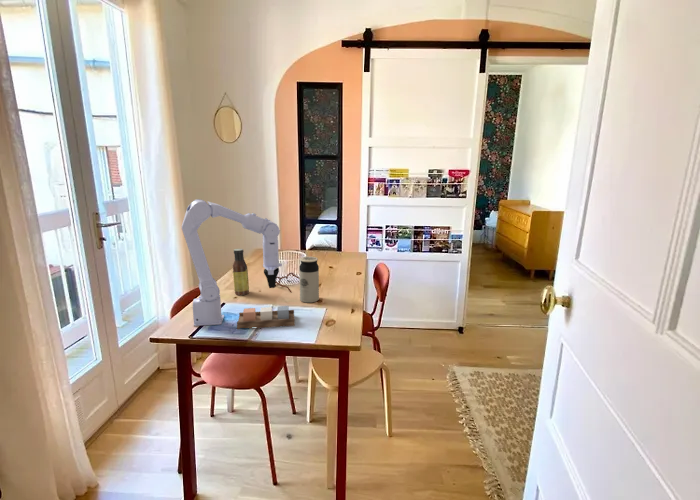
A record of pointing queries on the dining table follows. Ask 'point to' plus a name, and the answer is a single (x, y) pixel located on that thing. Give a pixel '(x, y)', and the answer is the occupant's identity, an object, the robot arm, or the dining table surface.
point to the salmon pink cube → (249, 314)
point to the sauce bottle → (240, 273)
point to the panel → (266, 321)
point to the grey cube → (283, 312)
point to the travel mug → (309, 279)
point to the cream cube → (266, 313)
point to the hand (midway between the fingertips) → (272, 287)
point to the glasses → (286, 278)
